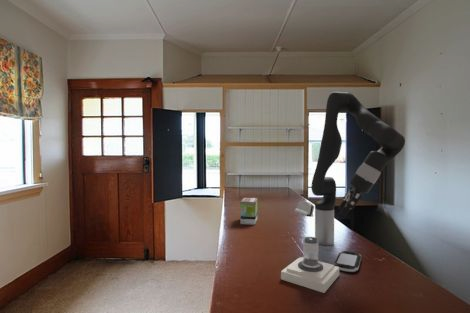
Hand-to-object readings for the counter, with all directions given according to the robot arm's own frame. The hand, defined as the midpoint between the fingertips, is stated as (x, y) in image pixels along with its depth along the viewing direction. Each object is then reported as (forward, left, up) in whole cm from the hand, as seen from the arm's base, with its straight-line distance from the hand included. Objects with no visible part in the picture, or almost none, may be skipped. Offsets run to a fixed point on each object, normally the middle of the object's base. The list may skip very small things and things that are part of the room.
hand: (341, 213), depth 105 cm
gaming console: (-10, 0, -23) cm, 25 cm away
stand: (+12, -8, -23) cm, 27 cm away
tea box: (-39, -71, -23) cm, 84 cm away
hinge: (-83, -51, -23) cm, 100 cm away
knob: (+11, -7, -18) cm, 23 cm away
